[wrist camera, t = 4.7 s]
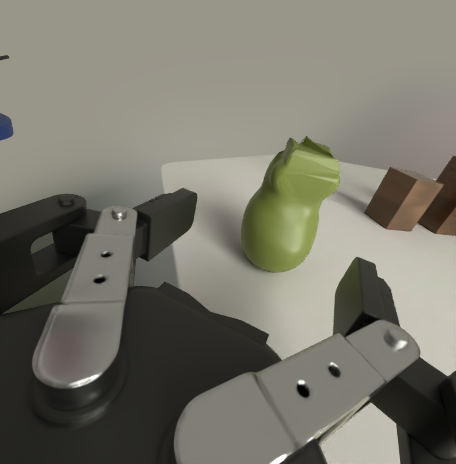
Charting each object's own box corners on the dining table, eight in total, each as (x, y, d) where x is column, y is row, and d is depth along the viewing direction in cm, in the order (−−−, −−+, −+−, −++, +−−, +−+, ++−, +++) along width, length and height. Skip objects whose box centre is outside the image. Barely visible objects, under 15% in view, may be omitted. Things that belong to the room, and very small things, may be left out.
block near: (386, 229, 33) (417, 179, 30) (364, 212, 37) (390, 166, 33) (411, 231, 34) (444, 184, 31) (387, 215, 38) (414, 171, 35)
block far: (435, 233, 36) (487, 166, 31) (410, 218, 39) (452, 155, 34) (456, 235, 37) (509, 171, 32) (430, 220, 41) (474, 160, 36)
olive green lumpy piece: (287, 248, 23) (334, 139, 18) (307, 289, 19) (375, 161, 14) (230, 240, 22) (262, 123, 17) (236, 281, 18) (282, 140, 13)
